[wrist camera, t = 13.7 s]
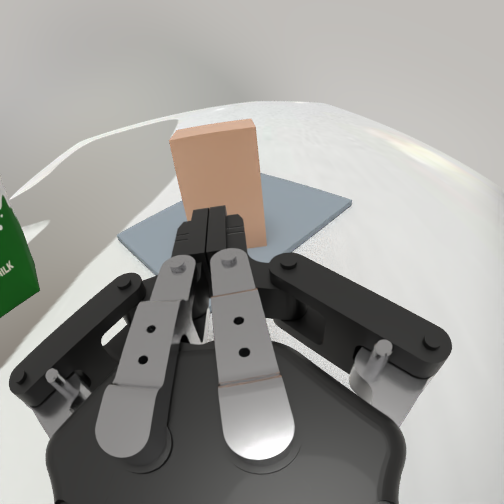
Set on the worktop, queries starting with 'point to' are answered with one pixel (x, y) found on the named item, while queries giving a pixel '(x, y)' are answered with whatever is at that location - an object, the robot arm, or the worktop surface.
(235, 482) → the robot arm
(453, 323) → the worktop surface
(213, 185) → the terracotta block
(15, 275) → the milk carton
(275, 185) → the mat
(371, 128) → the worktop surface
